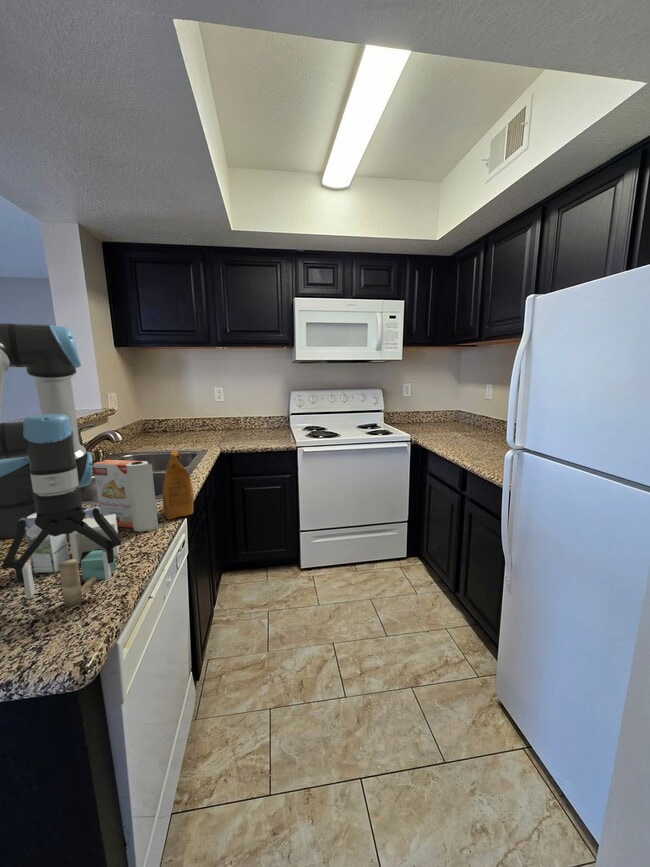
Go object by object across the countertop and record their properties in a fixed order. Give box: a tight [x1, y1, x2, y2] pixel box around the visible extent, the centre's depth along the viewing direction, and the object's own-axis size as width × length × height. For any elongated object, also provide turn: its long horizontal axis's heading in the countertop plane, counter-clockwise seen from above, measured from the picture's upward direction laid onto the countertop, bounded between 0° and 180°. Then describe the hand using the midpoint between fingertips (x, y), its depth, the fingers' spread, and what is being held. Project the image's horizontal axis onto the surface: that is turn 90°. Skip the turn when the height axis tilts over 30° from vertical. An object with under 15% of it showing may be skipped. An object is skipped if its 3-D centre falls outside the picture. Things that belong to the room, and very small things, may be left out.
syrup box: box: [25, 513, 71, 574], centre depth 90 cm, size 6×6×14 cm
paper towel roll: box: [126, 460, 159, 533], centre depth 112 cm, size 7×6×21 cm
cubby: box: [68, 514, 120, 565], centre depth 97 cm, size 8×10×9 cm
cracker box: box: [92, 459, 138, 529], centre depth 115 cm, size 14×6×21 cm, turn 75°
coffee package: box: [162, 449, 195, 520], centre depth 124 cm, size 10×12×22 cm
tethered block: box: [58, 549, 116, 608], centre depth 82 cm, size 15×5×9 cm, turn 6°
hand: (71, 585), depth 77 cm, fingers open, 13 cm apart
